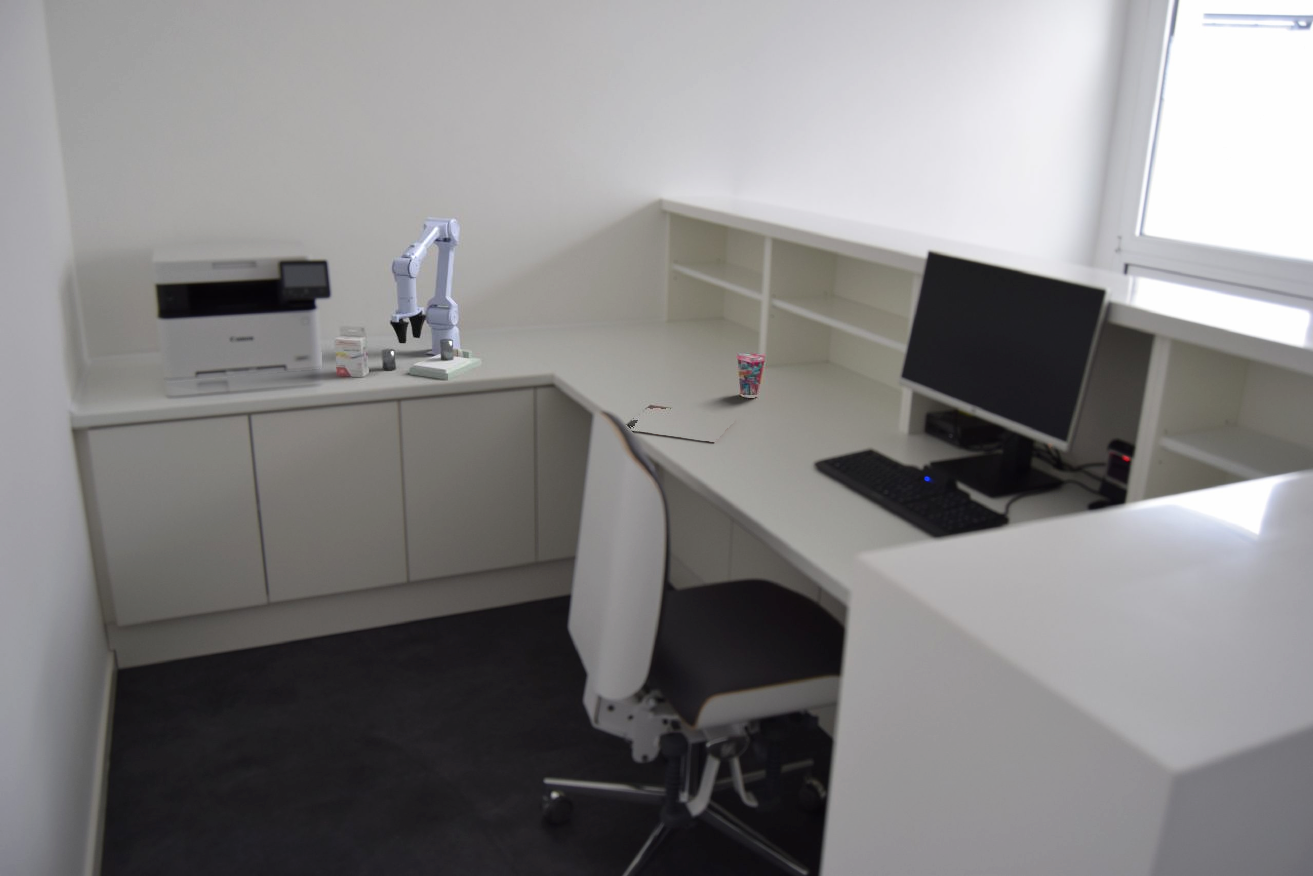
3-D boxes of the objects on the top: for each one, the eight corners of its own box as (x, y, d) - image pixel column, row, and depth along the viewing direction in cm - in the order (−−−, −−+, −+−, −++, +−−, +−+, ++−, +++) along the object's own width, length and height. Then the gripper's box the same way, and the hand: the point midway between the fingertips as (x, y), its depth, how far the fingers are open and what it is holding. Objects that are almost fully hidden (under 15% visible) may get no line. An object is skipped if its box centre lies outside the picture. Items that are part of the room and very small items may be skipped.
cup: (729, 393, 296) (731, 354, 292) (755, 390, 299) (757, 352, 295) (744, 402, 288) (746, 362, 284) (770, 399, 291) (772, 360, 287)
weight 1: (388, 366, 315) (386, 348, 313) (398, 368, 314) (397, 349, 312) (380, 369, 312) (378, 351, 310) (390, 371, 310) (389, 352, 308)
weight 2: (444, 356, 316) (443, 338, 314) (455, 357, 315) (455, 339, 313) (438, 360, 313) (437, 341, 311) (450, 361, 312) (449, 342, 310)
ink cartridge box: (336, 376, 304) (332, 328, 299) (342, 371, 309) (338, 325, 304) (363, 377, 303) (359, 330, 298) (369, 373, 308) (366, 326, 303)
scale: (444, 359, 324) (443, 344, 323) (481, 364, 319) (480, 349, 318) (409, 374, 308) (408, 358, 306) (448, 379, 303) (447, 364, 301)
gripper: (409, 291, 314) (412, 333, 318) (381, 300, 301) (384, 343, 305) (428, 293, 311) (431, 336, 316) (401, 302, 298) (404, 346, 303)
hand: (409, 340), depth 310 cm, fingers open, 7 cm apart
